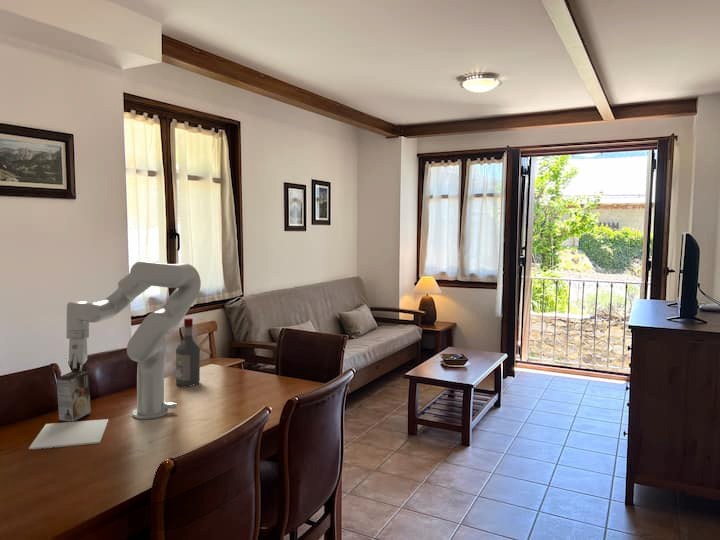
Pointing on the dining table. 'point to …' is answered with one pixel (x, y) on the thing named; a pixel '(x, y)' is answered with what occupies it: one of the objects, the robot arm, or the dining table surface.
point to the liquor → (188, 358)
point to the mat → (70, 434)
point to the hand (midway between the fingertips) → (77, 381)
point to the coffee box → (73, 395)
